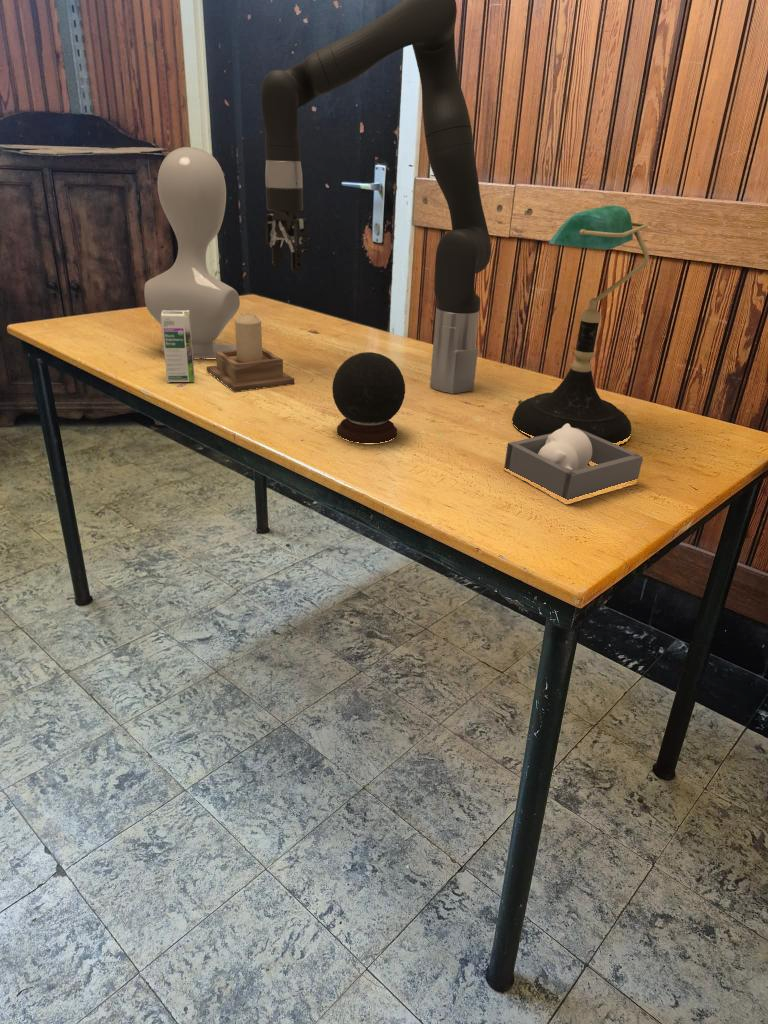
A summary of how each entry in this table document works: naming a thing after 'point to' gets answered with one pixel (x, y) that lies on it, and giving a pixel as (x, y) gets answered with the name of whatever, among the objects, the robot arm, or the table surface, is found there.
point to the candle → (248, 338)
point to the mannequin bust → (193, 249)
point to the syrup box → (177, 346)
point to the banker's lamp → (584, 340)
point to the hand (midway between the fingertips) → (286, 268)
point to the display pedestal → (249, 371)
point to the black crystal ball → (368, 397)
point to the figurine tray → (569, 484)
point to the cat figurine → (568, 448)
